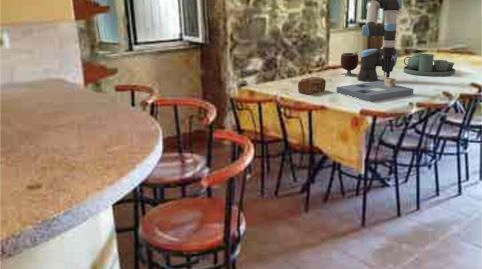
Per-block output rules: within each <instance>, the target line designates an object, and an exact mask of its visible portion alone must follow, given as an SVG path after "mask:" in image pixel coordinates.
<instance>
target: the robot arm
mask: <svg viewBox="0 0 482 269" xmlns="http://www.w3.org/2000/svg"><path fill="white" fill-rule="evenodd" d="M402 3H403V2H402V0H367V2H366V5H365V7H366V10H367V11H366V18H365V19H366V20H365V24H363V25H362V28H361V35H362V36H363V37H382V46H381V47H380V49H379V50H378V48H369V49H364V50H362V51H361V55H360V68H359V73H358V75H357V78H356V79H357V80H358V81H360V82H376V81H378V80H379V78H378V73H377V67H381V70H382V71H383V78H384V79H383V82H385V78H390V75H391V73H392V72H393V70H394V67H396V65H397V61H398V56H399V51H398V50H397V48H396V46H395V45H396V38H397V37H396V34H397V19H398V13H399V12H400V10H402V7H403V6H402ZM379 9H382V12H383V13H384V22H383V24H378V16H379V15H378V14H379Z"/></svg>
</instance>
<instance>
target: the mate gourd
mask: <svg viewBox="0 0 482 269" xmlns="http://www.w3.org/2000/svg"><path fill="white" fill-rule="evenodd" d="M340 65H341V67H342V69H344V70H345V71H346V72H343V73H341V74H340V75H341V76H342V75H345V76H344V77H357V76H358V75H357V73H354V72H353V73H352V71H353V70H356V69H357V67H358V65H359V51H356V52H344V53H341V56H340Z"/></svg>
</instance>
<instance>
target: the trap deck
mask: <svg viewBox="0 0 482 269" xmlns="http://www.w3.org/2000/svg"><path fill="white" fill-rule="evenodd" d="M336 92H337V93H336V94H339V93H341V94H340V95H343V94H345V95H344V96H347V95H349V96H348V97H350V96H352V97H351V98H354V97H356V98H355V99H357V98H359V99H358V100H361V99H362V101H365V100H366V101H365V102H368V101H372V102H376V100H378V101H382V100H390V99H394V98H395V99H397V98H402V97H408V96H413V95H414V88H413V87H412V88H411V87H406V86H402V85H397V84H395V86H393V87H387V86H384V81H380V80H379V81H378V80H377V81H368V82H363V83H356V84H348V85H339V86H336Z"/></svg>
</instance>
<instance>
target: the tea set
mask: <svg viewBox="0 0 482 269" xmlns="http://www.w3.org/2000/svg"><path fill="white" fill-rule="evenodd" d="M434 57H435V54H432V53H421V51H419V52H418V53H417V52H416V53H413V55H412V56H405V57H404V59H403V64H404V65H405V66H403V73H405V74H408V75H414V76H420V77H448V76H453V75H454V74H455V73H456V69H455V68H453V67H454V65H455V62H453V61H448V60H444V59H434ZM406 60H407V63H406Z"/></svg>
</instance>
